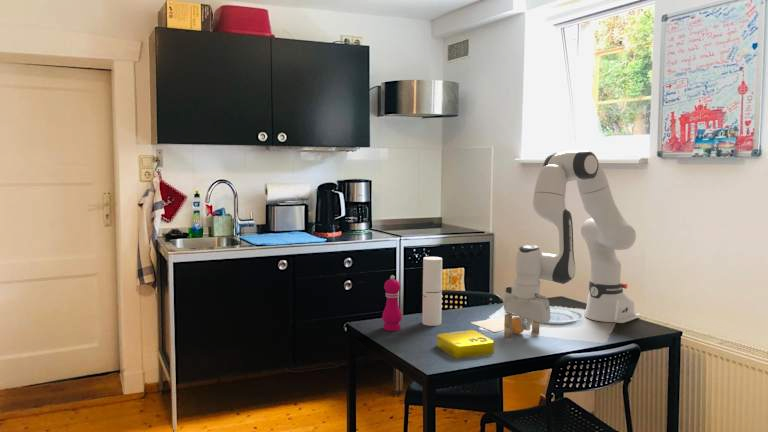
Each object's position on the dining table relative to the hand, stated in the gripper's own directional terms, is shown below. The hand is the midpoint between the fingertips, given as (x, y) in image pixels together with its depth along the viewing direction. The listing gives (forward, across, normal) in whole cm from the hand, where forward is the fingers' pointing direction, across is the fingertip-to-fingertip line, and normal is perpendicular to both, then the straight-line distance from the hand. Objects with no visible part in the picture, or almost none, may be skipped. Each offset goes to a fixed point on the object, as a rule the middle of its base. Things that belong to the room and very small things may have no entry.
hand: (525, 329), depth 237 cm
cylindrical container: (+3, +31, +19) cm, 36 cm away
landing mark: (+2, +16, -1) cm, 16 cm away
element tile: (+4, 0, +27) cm, 28 cm away
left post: (+3, +2, +6) cm, 7 cm away
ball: (0, +4, 0) cm, 4 cm away
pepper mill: (+3, +32, +36) cm, 48 cm away
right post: (+2, +2, -7) cm, 8 cm away
